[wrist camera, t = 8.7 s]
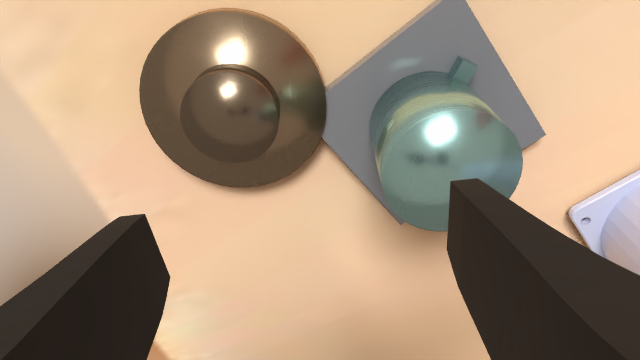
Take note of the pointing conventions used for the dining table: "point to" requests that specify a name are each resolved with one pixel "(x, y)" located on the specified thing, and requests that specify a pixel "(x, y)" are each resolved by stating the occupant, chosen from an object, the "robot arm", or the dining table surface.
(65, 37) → the dining table surface
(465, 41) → the coaster
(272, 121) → the bronze metal disc
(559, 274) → the robot arm
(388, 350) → the dining table surface
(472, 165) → the teal mug
